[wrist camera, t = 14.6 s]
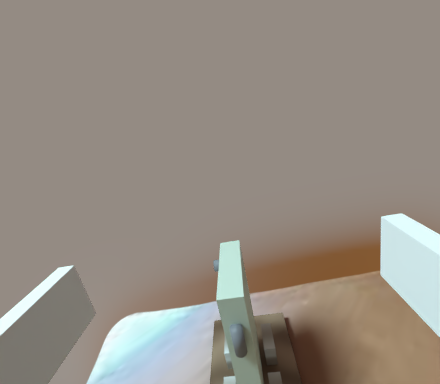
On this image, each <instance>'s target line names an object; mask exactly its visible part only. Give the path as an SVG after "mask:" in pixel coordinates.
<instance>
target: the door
mask: <svg viewBox="0 0 440 384" xmlns="http://www.w3.org/2000/svg"><path fill="white" fill-rule="evenodd" d="M214 270H215V271H218V285H217V304H218V309H219V313H220V317H221V321H222V325H223V329H224V333H225V337H226V341H227V345H228V349H229V354H230V358H231V362H232V366H233V370H234V374H235V378H236V382H237V384H264V379H263V372H262V364H261V357H260V349H259V342H258V337H257V331H256V326H255V321H254V316H253V310H252V305H251V300H250V295H249V289H248V284H247V279H246V274H245V268H244V263H243V258H242V253H241V247H240V242H239V240H238V241H232V242H225V243H221V244H220V257H219V260H214Z"/></svg>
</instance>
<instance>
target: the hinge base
mask: <svg viewBox="0 0 440 384" xmlns="http://www.w3.org/2000/svg"><path fill="white" fill-rule="evenodd" d="M254 321H255V326H256V331H257V337H258V342H259V349H260V357H261V364H262V372H263V379H264V384H302V382H301V378H300V375H299V371H298V367H297V364H296V360H295V356H294V353H293V349H292V345H291V342H290V338H289V334H288V331H287V327H286V323H285V320H284V316H283V313H276V314H268V315H260V316H254ZM210 384H237V382H236V378H235V374H234V370H233V366H232V362H231V358H230V354H229V349H228V345H227V341H226V337H225V333H224V329H223V325H222V321H221V320H218V321H215V322H214V336H213V350H212V363H211V377H210Z"/></svg>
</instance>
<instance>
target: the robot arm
mask: <svg viewBox="0 0 440 384" xmlns="http://www.w3.org/2000/svg"><path fill="white" fill-rule="evenodd" d="M381 276H382V277H383V278H384V279H385V280H386V281H387V282H388V283H389V284H390V285H391V286H392V287H393V289H394V290H395V291H396V292H397V293H398V294H399V295H400V296H401V297H402V298H403V299H404V300H405V301H406V302H407V303H408V304H409V305H410V306H411V307H412V309H413V310H414V311H415V312H416V313H417V314H418V315H419V316H420V317H421V318H422V319H423V320H424V321H425V322H426V323H427V324H428V325H429V326H430V327H431V328H432V330H433V331H434V332H435V333H436V334H437V335H438V336H439V337H440V235H439V234H438V233H436V232H434V231H432V230H430V229H429V228H427V227H425V226H423V225H422V224H420V223H418V222H416V221H414V220H413V219H411V218H409V217H407V216H406V215H404V214H402V213H401V214H395V215H389V216H382V217H381ZM95 314H96V312H95V310H94V308H93V305H92V303H91V301H90V299H89V297H88V295H87V292H86V290H85V288H84V286H83V284H82V281H81V279H80V277H79V275H78V273H77V271H76V268H75V267H74V266H68V267H61V268H58V269H57V270H56V271H55V272H53V274H51V275H50V276H49V277H48V278H47V279H46V280H44V281H43V282H42V283H41V284H40V285H39V286H38V287H36V288H35V289H34V290H33V291H32V292H31V293H30V294H29V295H27V296H26V297H25V298H24V299H23V300H22V301H21V302H19V303H18V304H17V305H16V306H15V307H14V308H12V309H11V310H10V311H9V312H8V313H7V314H6V315H4V316H3V317H2V318H1V319H0V384H48V383H49V382H50V380H51V379H52V377H53V376H54V374H55V373H56V371H57V370H58V368H59V367H60V365H61V364H62V363H63V361H64V360H65V358H66V357H67V355H68V354H69V352H70V351H71V349H72V348H73V346H74V345H75V343H76V342H77V341H78V339H79V337H80V336H81V335H82V333H83V332H84V330H85V329H86V327H87V326H88V324H89V323H90V322H91V320H92V319H93V317H94V316H95Z"/></svg>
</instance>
